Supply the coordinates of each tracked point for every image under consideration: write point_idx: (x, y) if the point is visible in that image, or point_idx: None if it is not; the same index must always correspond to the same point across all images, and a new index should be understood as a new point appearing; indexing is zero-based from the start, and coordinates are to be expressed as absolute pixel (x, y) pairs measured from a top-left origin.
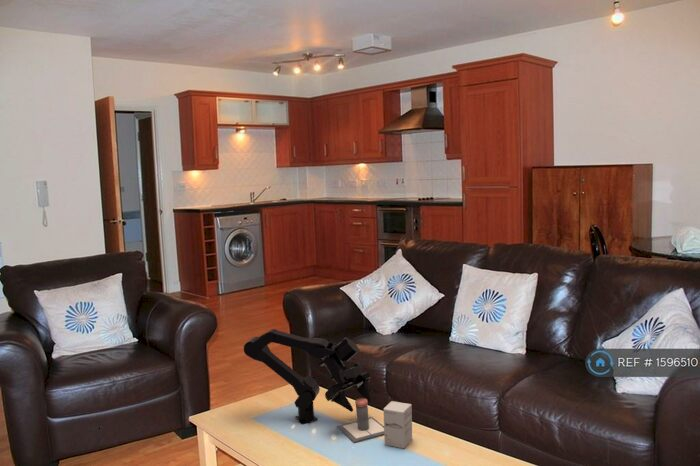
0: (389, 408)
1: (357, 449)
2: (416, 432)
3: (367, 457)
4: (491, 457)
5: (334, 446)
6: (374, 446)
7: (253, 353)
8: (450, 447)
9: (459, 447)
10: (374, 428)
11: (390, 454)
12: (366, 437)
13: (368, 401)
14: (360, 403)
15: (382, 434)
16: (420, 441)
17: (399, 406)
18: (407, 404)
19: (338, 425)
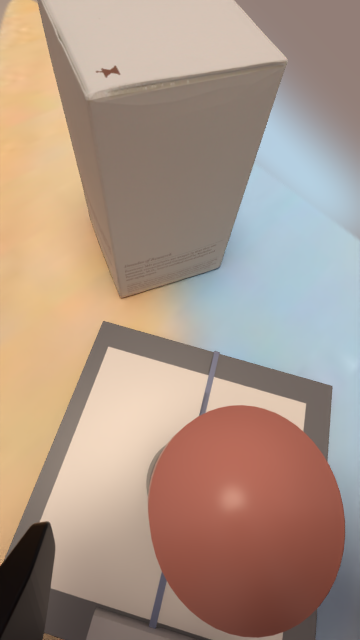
0: (243, 32)
1: (345, 329)
2: (13, 244)
3: (343, 252)
4: (36, 18)
5: None
6: (262, 293)
7: None
8: (53, 102)
9: (34, 86)
10: (139, 418)
11: (253, 207)
12: (249, 371)
13: (49, 563)
14: (309, 438)
15: (156, 336)
16: (82, 188)
17: (149, 4)
18: None
19: None
